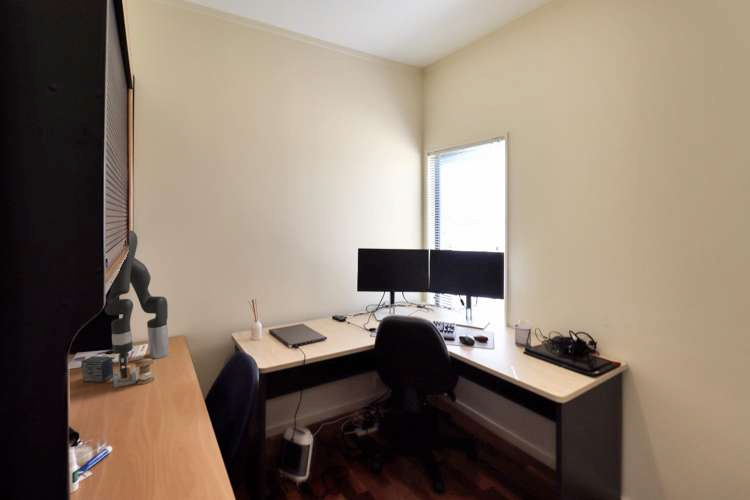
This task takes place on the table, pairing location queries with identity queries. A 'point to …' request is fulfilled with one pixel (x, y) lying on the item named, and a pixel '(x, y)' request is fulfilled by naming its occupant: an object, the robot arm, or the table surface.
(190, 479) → the table surface
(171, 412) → the table surface
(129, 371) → the tan rectangular block
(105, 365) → the small box
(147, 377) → the bobbin
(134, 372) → the grey channel bracket
